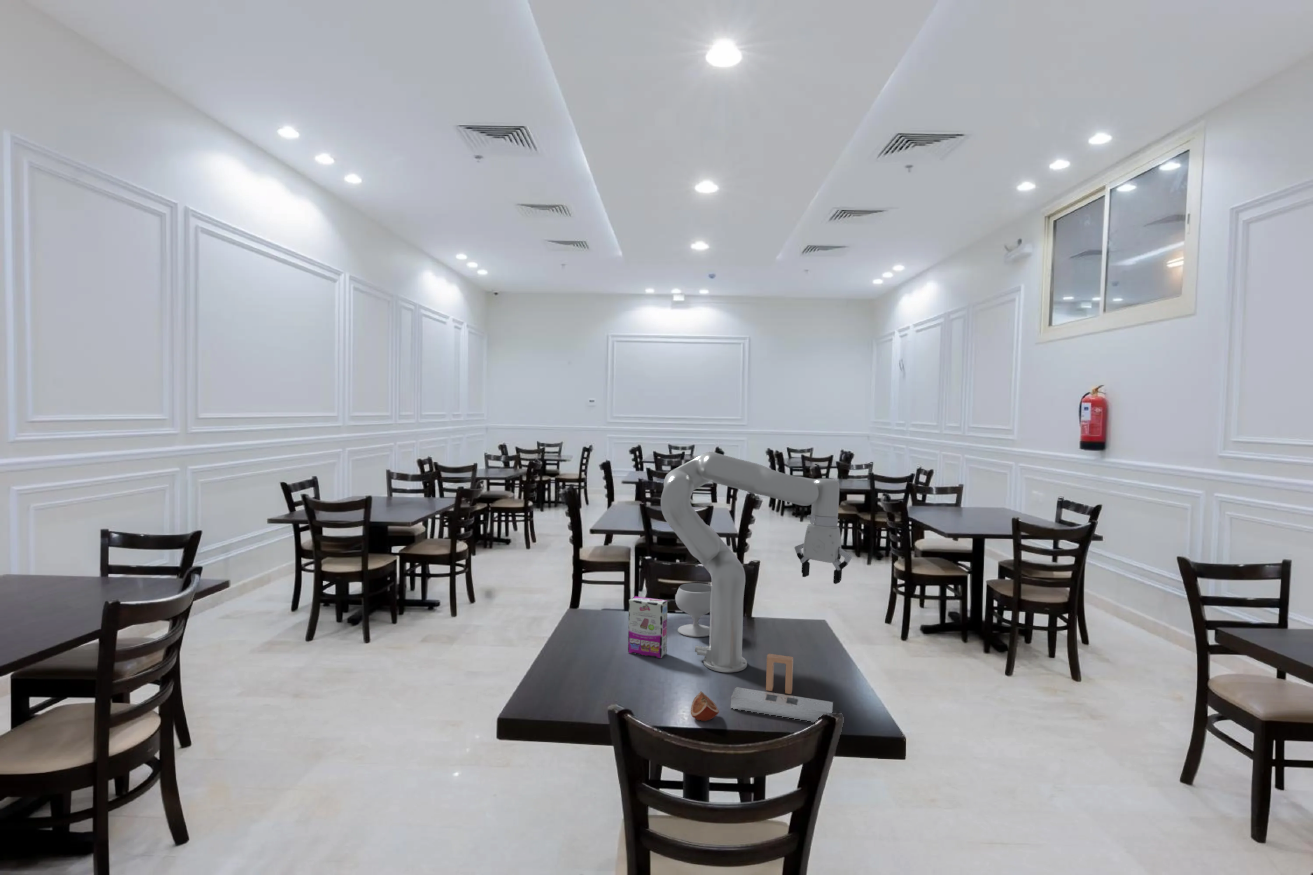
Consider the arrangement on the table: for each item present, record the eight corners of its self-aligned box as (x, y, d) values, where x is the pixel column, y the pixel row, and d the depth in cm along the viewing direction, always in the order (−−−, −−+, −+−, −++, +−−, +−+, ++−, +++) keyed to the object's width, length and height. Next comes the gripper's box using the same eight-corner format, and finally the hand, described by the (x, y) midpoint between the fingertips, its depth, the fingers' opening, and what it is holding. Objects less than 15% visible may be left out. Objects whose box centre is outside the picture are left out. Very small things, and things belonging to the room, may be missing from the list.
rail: (730, 708, 154) (731, 696, 154) (735, 698, 160) (735, 686, 160) (831, 725, 147) (831, 712, 147) (832, 714, 152) (832, 701, 152)
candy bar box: (667, 653, 190) (668, 599, 189) (661, 659, 185) (662, 604, 184) (633, 647, 194) (634, 595, 193) (627, 653, 189) (628, 599, 189)
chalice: (672, 625, 216) (673, 582, 215) (711, 624, 217) (713, 581, 217) (678, 639, 202) (679, 593, 201) (720, 638, 203) (721, 593, 203)
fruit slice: (688, 710, 153) (688, 690, 153) (715, 709, 153) (715, 689, 153) (693, 727, 145) (693, 706, 144) (721, 726, 145) (722, 705, 145)
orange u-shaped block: (765, 690, 165) (766, 656, 165) (767, 686, 168) (768, 653, 167) (791, 694, 163) (792, 660, 163) (792, 690, 165) (793, 656, 165)
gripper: (791, 518, 184) (788, 575, 185) (847, 527, 173) (844, 588, 174) (802, 516, 190) (799, 571, 190) (858, 524, 179) (854, 583, 179)
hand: (820, 579), depth 182 cm, fingers open, 9 cm apart
